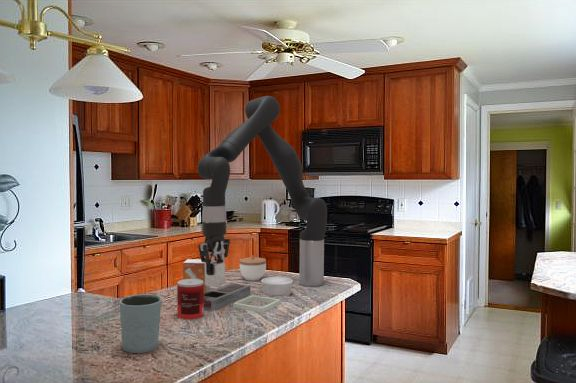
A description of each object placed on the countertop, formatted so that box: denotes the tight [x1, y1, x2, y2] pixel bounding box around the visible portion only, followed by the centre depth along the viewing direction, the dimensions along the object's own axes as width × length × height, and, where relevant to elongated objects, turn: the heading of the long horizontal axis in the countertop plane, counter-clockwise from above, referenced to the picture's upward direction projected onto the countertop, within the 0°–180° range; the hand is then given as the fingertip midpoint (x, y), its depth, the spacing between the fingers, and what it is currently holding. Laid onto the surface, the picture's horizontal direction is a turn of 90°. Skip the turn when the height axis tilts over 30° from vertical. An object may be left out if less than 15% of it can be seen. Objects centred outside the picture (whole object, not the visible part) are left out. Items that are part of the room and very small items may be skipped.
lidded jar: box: [239, 255, 267, 282], centre depth 196 cm, size 11×11×9 cm
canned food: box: [176, 279, 205, 320], centre depth 145 cm, size 8×8×11 cm
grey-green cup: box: [118, 293, 163, 354], centre depth 122 cm, size 10×10×12 cm
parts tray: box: [232, 294, 282, 314], centre depth 156 cm, size 11×11×2 cm
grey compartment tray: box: [204, 283, 251, 312], centre depth 161 cm, size 22×8×4 cm, turn 152°
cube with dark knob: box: [205, 260, 226, 288], centre depth 157 cm, size 5×5×7 cm
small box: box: [182, 258, 211, 293], centre depth 167 cm, size 8×6×13 cm
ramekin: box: [260, 276, 294, 297], centre depth 173 cm, size 11×11×5 cm
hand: (214, 273), depth 157 cm, fingers closed on cube with dark knob, 4 cm apart
